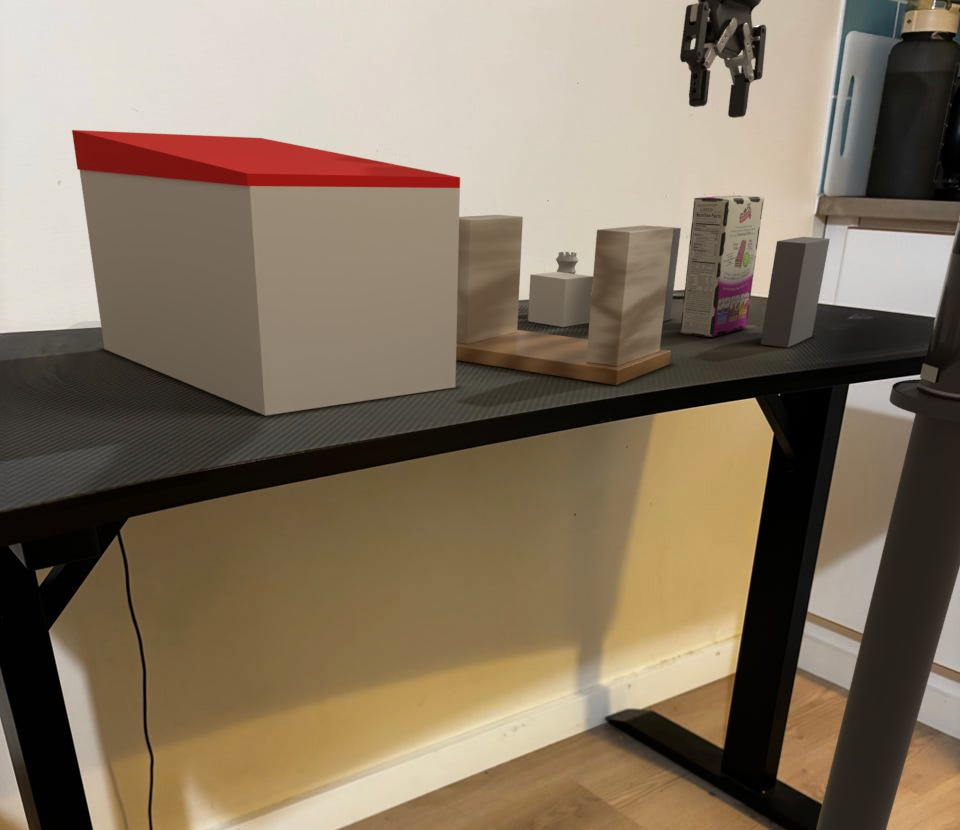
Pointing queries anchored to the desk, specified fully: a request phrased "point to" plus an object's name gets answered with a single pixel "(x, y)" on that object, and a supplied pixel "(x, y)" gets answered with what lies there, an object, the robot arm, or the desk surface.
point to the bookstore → (272, 267)
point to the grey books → (780, 288)
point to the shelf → (613, 316)
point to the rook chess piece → (567, 262)
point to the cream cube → (560, 299)
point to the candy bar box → (720, 264)
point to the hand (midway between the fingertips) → (717, 111)
